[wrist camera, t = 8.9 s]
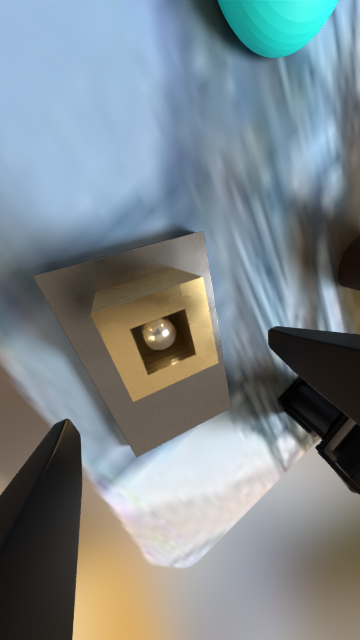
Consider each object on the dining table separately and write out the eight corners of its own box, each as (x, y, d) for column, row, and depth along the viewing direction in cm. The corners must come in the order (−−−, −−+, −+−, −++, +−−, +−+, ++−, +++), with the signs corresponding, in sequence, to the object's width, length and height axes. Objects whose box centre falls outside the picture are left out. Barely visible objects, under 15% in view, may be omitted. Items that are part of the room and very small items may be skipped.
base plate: (40, 273, 13) (0, 289, 8) (195, 232, 16) (234, 225, 11) (134, 444, 21) (142, 501, 17) (224, 398, 24) (253, 436, 19)
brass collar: (95, 292, 13) (90, 314, 9) (173, 267, 15) (203, 276, 10) (125, 359, 16) (133, 402, 11) (189, 333, 17) (218, 362, 13)
